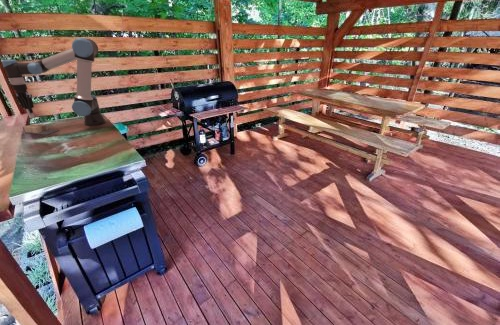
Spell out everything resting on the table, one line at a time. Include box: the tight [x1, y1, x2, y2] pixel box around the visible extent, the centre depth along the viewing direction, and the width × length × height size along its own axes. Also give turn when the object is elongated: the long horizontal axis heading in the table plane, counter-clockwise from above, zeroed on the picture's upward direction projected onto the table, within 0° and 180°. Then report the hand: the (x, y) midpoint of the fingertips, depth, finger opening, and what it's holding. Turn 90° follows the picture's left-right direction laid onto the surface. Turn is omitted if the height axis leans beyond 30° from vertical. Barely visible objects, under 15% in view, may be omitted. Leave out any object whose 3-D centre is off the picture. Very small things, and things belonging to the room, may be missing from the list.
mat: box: [24, 128, 60, 136], centre depth 177 cm, size 10×20×1 cm, turn 78°
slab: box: [22, 123, 49, 133], centre depth 177 cm, size 8×4×12 cm
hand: (32, 117), depth 174 cm, fingers closed
